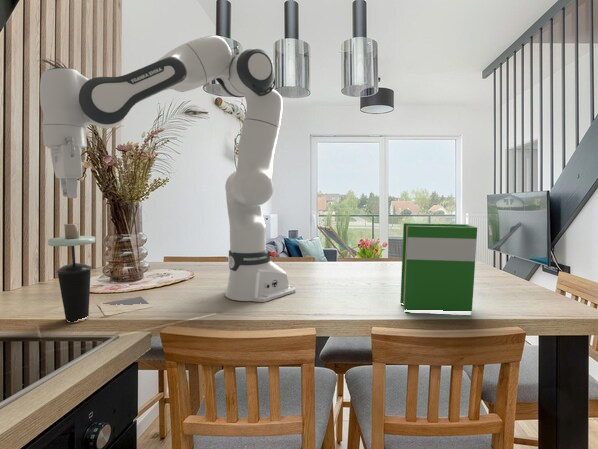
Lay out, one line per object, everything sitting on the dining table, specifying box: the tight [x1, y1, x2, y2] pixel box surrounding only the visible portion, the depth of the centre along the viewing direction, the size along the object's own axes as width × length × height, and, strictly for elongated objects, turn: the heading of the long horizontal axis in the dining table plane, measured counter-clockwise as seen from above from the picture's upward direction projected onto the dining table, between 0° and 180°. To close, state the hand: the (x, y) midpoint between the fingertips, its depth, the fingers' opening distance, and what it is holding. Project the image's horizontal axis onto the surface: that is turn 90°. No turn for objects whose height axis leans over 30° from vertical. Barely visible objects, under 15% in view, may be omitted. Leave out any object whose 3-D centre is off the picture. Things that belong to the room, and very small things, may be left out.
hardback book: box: [399, 222, 478, 312], centre depth 104 cm, size 18×7×24 cm, turn 84°
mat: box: [102, 296, 150, 305], centre depth 106 cm, size 12×12×1 cm
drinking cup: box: [55, 246, 93, 322], centre depth 94 cm, size 8×8×20 cm
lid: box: [47, 223, 96, 247], centre depth 93 cm, size 10×10×5 cm
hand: (69, 197), depth 92 cm, fingers open, 8 cm apart
